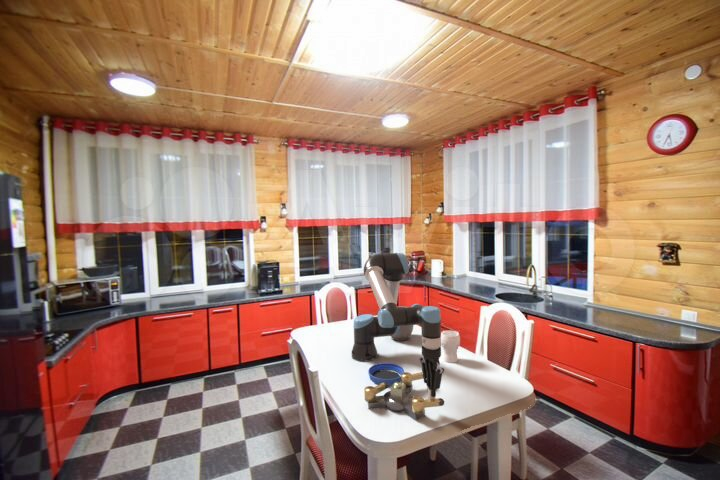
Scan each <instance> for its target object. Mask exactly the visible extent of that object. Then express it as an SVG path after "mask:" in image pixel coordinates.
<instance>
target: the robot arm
mask: <svg viewBox="0 0 720 480" xmlns="http://www.w3.org/2000/svg"><path fill="white" fill-rule="evenodd" d="M409 269H410V267H409V262H408V259H407V256H406V255H405V254H404V253H402V252H393V253H375V254H373V255H371V256H370V257H369V258H368V259H367V260H366V261H365V263H364V265H363V275H364V278H365V279H366V281H367V282H369V284H370V288H371V290H372V292H373V295H374V298H375V300H376V303H377V305H378V308H379V310H378V311H377V312H378V313H377V316H374V315H373V314H371V313H370V314H369V313H367V314H366V313H365V314H361V315H357V316H356V317H355V318H354V319H353V340H354V341H353V346H352V349H351V358H352V359H353V360H355V361H359V362H367V361H368V362H369V361H373V360H375V359H376V358H377V357H378V350H377V347H376V344H375V338H382V337H391V336H392V335H396V334H398V332H399V330H400V326H408V325H413V326H415V325H418V326H420V327H421V356H422V357H419V361H420V365H421V372H423V379H422V380H423V382H424V384H426V387H427V399H436V396H437V390H439V389H440V388H441V384H442V378H443V373H444V372H445V368H443V367H441V365H440V364H441V363H440V358H441V356H442V347H441V346H442V344H441V332H442V331H441V330H442V316H441V309H440V308H439V307H438V306H434V305H433V306H432V305H427V306H424V305H422V304H420V303H414V304H412V305H410V306H404V307H405V308H398V307H397V304H398V297H399V290H400V283H401V281H402V280H403V279H404V276H405V275H407V274H409Z"/></svg>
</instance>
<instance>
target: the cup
mask: <svg viewBox="0 0 720 480" xmlns="http://www.w3.org/2000/svg"><path fill="white" fill-rule="evenodd" d="M460 344H461V336H460V332H458V331H454V330H443V331H441V346H442V348H443V358H442V359H443V361H445V362H447V363H453V364H454V363H458V361H459V359H458V349H459V348H460Z"/></svg>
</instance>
